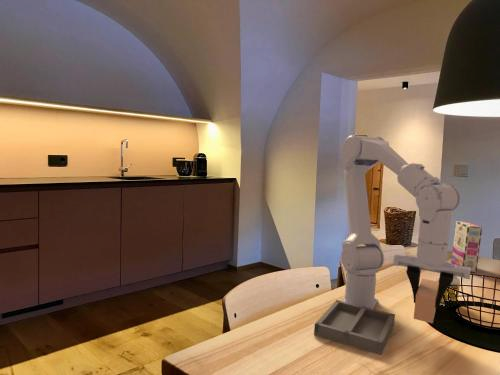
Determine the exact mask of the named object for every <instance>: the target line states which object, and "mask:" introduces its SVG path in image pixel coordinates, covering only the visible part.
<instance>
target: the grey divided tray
mask: <svg viewBox="0 0 500 375" xmlns="http://www.w3.org/2000/svg"><path fill="white" fill-rule="evenodd" d="M395 317H396V313H392V312H386V311H384V310H380V309H375V308H373V309H371V308H367V307H363V306H359V305H355V304H351V303H347V302H343V301H342V300H337V299H336V300H335V301H334V302H333V303H332V304H331V305H330V306H329V308H327V310H326V311H325V312H324V313H323V314H322V315H321V316H320V318H318V319H317V321H316V322H315V323H314V329H313V330H314V331H313V335H314V336H316V337H319V338H320V337H321V338H323V339H327V340H329V341H333V342H336V343H340V344H344V345H347V346H350V347H353V348H356V349H360V350H364V351H366V352H367V351H368V352H370V353H374V354H378V355H380V356H381V355H382V354H383V351H384V349H385V346H386V344H387V342H388V339H389V337H390V335H391V332H392V331H393V328H394V325H395V320H396V318H395Z"/></svg>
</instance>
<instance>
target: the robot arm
mask: <svg viewBox="0 0 500 375" xmlns="http://www.w3.org/2000/svg"><path fill="white" fill-rule="evenodd" d="M341 156H342V158H341V159H342V167H343V177H344V187H345V197H346V206H347V216H348V217H347V218H348V225H349V226H348V228H349V236H347V237H346V238H345V240H343V241H342V243H341V244H342V245H341V247H342V250H341V256H340V260H341V263H342V264H341V265H342V266H343V268H344V270H345V271H346V281H345V293H344V297H343V299H342V300H341V301H343V302H347V303H351V304H355V305H359V306H363V307H367V308H371V309H375V307H376V305H377V303H378V302H379V299H378V298H376V297H375V295H376V285H377V276H376V275H377V273H379V269H381V268H382V267H383V265H384V262H385V255H384V252H383V250H382V248H381V247H382V246H381V243H380V242H381V241H380V240H379V238H378V237H376V236H375V235H374V234H373V233H372V225H371V219H370V218H371V217H370V208H369V207H370V206H369V200H368V199H369V198H368V192H367V191H368V189H367V188H368V187H367V180H366V175H367V172H368V171H369V170H371V169H372V168H373V167H375V166H376V165H377V164H378V163H381V164H382V165H384V166H385V167H386V168H387V169H389V170H390V171H391V172H393V173H394V174H395V175H397V179H396V180H397V182H398V184H399V185H401V187H403V189H405V190H406V191H407V192H408V193H409V194H411V195H412V196H413V197H414V198H415V202H416V206H417V208H418V216H419V219H420V220H419V228H418V229H419V230H418V240H417V241H418V242H417V248H416V256H407V255H401V254H400V255H399V254H395V255H394V256H393V261H392V265H393V266H396V267H399V266H400V267H406V276H407V278H408V281H409V283H410V286H411V291H412V294H413V295H412V298H413V304H415V300H416V294H417V291H418V288H419V286H420V282H421V280H420V279H421V273H422V271H428V272H431V273H432V272H433V273H438V274H439V275H440V276H439V275H438V276H439V286H438V294H437V299H436V306H435V308H436V309H440V306H441V305H440V302H441V299H442V297H443V295H444V293H445V292H446V290H447V288H448V287H449V286H450V284H451V283H452V281H453V275H454V276H457V277H460V278H463V279H466V280H470V278H471V272H470V271H471V268H469V267H464V266H459V265H456V264H452V263H451V262H447V260H448V259H447V258H448V251H449V250H448V249H449V244H450V243H449V240H450V232H451V223H452V217H453V216H452V215H453V211H455V210H456V209H457V208H458V206H459V205H460V200H461V196H460V192H459V191H458V189H457V188H456V187H455V186H454V185H453V184H452V183H442V182H441V181H440V178H439V177H437V176H433V175H432V174H431V173H429V172H428V171H427V170H426V169H425V167H426V166H425V165H423V164H421V163H413V162H412V163H408V162H407V161H406V160H405V159H404V158H403V157H402V156H401V155H400V154H399V153H398V152H396V150H395V149H393V148H392V147H391V146H390V143H389V141H387V140H385V139H384V138H383V137H381V136H365V135H355V134H350V135H348V136H347V137H346V138H345V140H344V142H343V144H342V145H341ZM360 245H361V246H360ZM362 245H363V246H362Z"/></svg>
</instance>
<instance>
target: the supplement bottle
mask: <svg viewBox="0 0 500 375" xmlns="http://www.w3.org/2000/svg"><path fill="white" fill-rule="evenodd" d="M439 276H440V274H439V275H438V276H437V279H436V281H437V282H439ZM460 286H461V280H460V279H459V278H458V276H454V275H453V281H452V283H451V284H450V286H449V287H451V288H453V289H455V290H457V291H459V292H457V298H458V299H459V294H460ZM444 295H445V297H446V299H448V295H447V290H446V292H445V293H444ZM449 296H450V297H451V300H452V301H456V297H455V292H454V291H453V290H451V289H449ZM441 305H443V306H442V307H444V306H445V303H444V300H443V297H442V299H441V302H440V305H439V306H441Z"/></svg>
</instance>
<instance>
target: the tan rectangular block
mask: <svg viewBox="0 0 500 375" xmlns="http://www.w3.org/2000/svg"><path fill="white" fill-rule="evenodd" d="M438 286H439V282H437V280H431V279H427V278H421V280H420V282H419V288H418V291H417V294H416V300H415V303H414V313H413V320H417V321H421V322H426V323H430V324H433V323H434V318H435V314H436V310H437V308H435V306H436V299H437V294H438Z"/></svg>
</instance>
